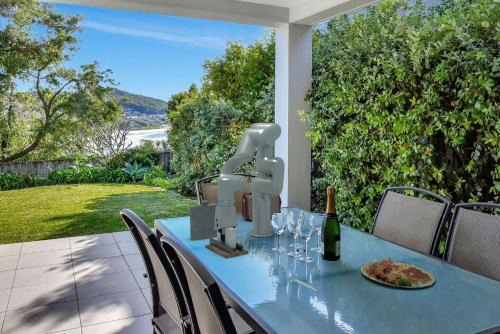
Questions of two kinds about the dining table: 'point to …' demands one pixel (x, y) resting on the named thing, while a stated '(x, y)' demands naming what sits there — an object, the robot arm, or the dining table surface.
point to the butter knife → (304, 284)
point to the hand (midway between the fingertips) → (226, 240)
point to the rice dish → (397, 273)
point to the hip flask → (202, 221)
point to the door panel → (228, 236)
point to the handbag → (248, 205)
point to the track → (226, 249)
